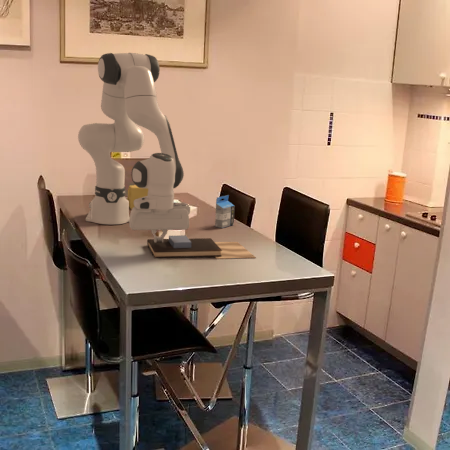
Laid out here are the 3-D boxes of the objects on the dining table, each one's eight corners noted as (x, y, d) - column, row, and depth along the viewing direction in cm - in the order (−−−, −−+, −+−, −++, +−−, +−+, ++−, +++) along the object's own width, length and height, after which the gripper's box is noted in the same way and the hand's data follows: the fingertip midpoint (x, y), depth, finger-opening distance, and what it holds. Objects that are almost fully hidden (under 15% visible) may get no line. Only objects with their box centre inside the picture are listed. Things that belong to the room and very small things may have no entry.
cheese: (126, 204, 279) (127, 183, 276) (149, 205, 282) (150, 183, 280) (129, 209, 269) (130, 187, 267) (153, 209, 272) (154, 187, 270)
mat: (201, 243, 222) (201, 242, 222) (237, 242, 226) (237, 241, 226) (216, 258, 203) (216, 258, 203) (255, 258, 208) (255, 257, 207)
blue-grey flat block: (168, 241, 212) (168, 235, 212) (185, 240, 214) (185, 235, 213) (173, 248, 204) (174, 242, 203) (191, 247, 205) (191, 242, 205)
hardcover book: (221, 256, 205) (221, 249, 205) (154, 258, 199) (154, 251, 199) (210, 243, 220) (210, 237, 220) (147, 245, 214) (147, 238, 214)
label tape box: (222, 228, 246) (224, 198, 244) (214, 226, 248) (216, 197, 246) (234, 225, 254) (236, 196, 251) (226, 223, 256) (228, 194, 253)
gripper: (188, 200, 209) (186, 239, 212) (129, 200, 203) (127, 240, 206) (192, 204, 203) (190, 244, 206) (131, 204, 197) (130, 245, 200)
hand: (158, 242), depth 206 cm, fingers closed
